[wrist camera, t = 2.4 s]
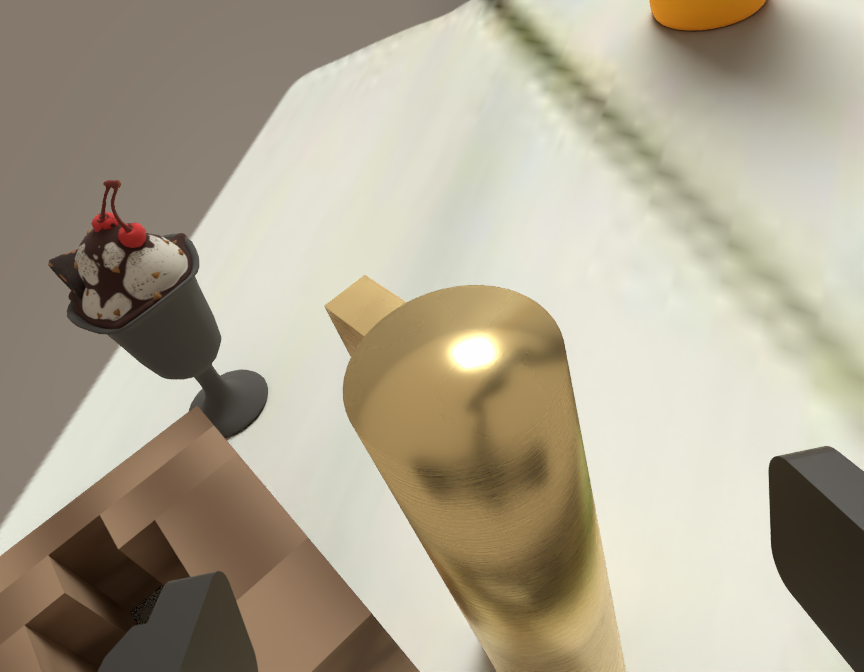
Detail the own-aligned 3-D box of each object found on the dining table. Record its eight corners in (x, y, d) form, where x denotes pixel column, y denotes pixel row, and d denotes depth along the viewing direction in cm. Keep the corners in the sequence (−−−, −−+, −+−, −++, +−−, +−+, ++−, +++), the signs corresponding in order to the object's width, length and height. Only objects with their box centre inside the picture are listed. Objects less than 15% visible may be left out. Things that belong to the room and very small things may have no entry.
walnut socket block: (253, 473, 36) (197, 405, 32) (420, 672, 27) (371, 613, 23) (7, 677, 32) (-96, 629, 28) (109, 992, 23) (-20, 992, 19)
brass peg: (533, 565, 29) (415, 236, 16) (650, 669, 25) (616, 345, 13) (457, 643, 28) (267, 349, 15) (570, 766, 24) (440, 510, 11)
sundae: (305, 388, 40) (167, 168, 29) (213, 473, 37) (26, 266, 27) (243, 344, 44) (102, 138, 33) (156, 418, 41) (-26, 220, 31)
